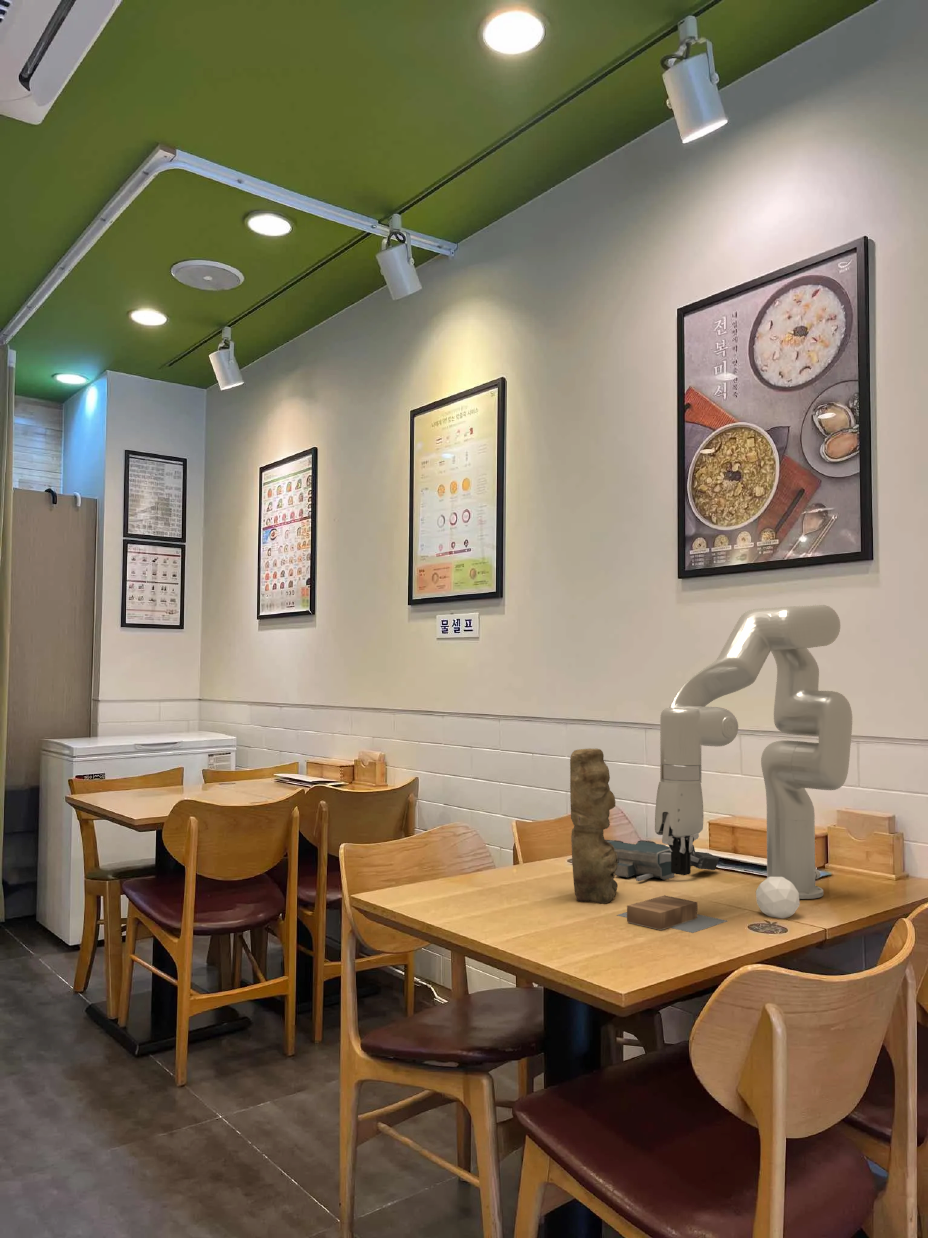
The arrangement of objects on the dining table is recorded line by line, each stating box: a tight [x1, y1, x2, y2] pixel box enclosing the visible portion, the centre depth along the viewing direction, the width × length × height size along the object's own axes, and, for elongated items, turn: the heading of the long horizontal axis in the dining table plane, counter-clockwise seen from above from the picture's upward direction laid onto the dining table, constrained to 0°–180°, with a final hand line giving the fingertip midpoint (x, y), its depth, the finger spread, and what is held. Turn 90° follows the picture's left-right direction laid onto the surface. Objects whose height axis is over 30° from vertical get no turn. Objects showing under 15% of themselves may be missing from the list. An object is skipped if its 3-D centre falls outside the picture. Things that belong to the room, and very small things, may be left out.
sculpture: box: [569, 748, 618, 905], centre depth 186 cm, size 12×9×30 cm
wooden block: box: [626, 894, 698, 931], centre depth 166 cm, size 3×7×12 cm
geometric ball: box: [755, 877, 801, 919], centre depth 172 cm, size 8×8×8 cm
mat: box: [616, 911, 728, 934], centre depth 168 cm, size 12×16×1 cm
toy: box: [605, 839, 720, 882], centre depth 215 cm, size 27×9×30 cm
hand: (680, 873), depth 171 cm, fingers closed
